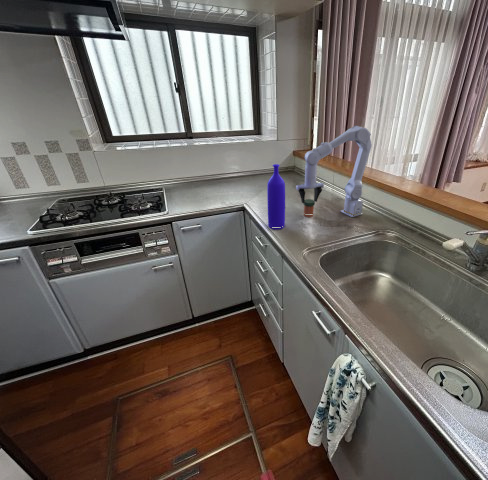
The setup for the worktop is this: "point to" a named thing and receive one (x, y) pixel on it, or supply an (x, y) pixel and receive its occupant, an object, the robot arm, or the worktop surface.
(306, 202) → the jar lid
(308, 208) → the jar
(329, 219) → the worktop surface
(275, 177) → the bottle
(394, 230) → the worktop surface
